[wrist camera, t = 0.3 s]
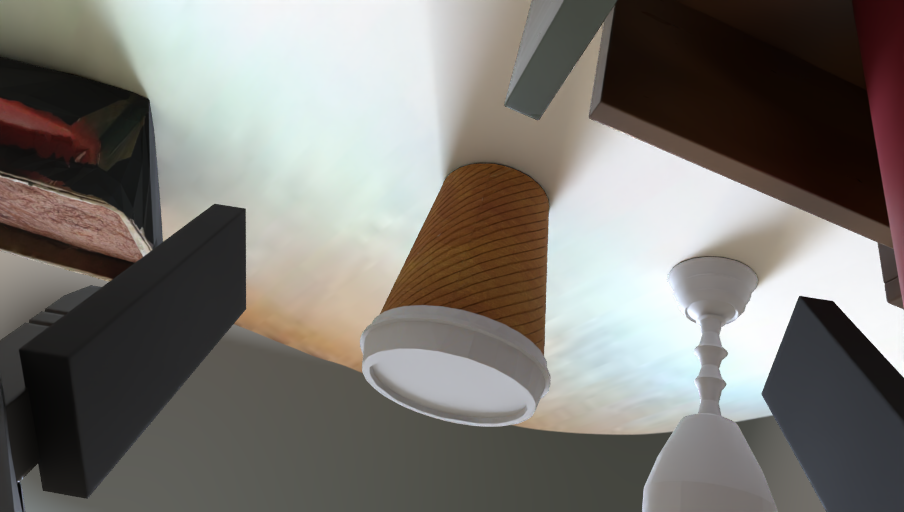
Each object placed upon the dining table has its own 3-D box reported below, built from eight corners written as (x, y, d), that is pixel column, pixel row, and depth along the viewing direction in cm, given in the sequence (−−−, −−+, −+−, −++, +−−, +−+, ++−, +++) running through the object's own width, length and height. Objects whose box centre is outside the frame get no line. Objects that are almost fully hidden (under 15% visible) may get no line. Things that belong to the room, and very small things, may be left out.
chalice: (639, 299, 43) (614, 599, 33) (660, 239, 37) (637, 578, 28) (757, 318, 42) (765, 635, 32) (797, 259, 36) (822, 621, 26)
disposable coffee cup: (534, 122, 32) (485, 337, 26) (602, 236, 38) (577, 432, 32) (384, 161, 37) (312, 348, 31) (465, 256, 44) (420, 428, 37)
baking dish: (210, 212, 50) (171, 326, 45) (-46, 160, 47) (-124, 276, 41) (204, 67, 39) (149, 195, 33) (-136, -16, 36) (-262, 110, 30)
